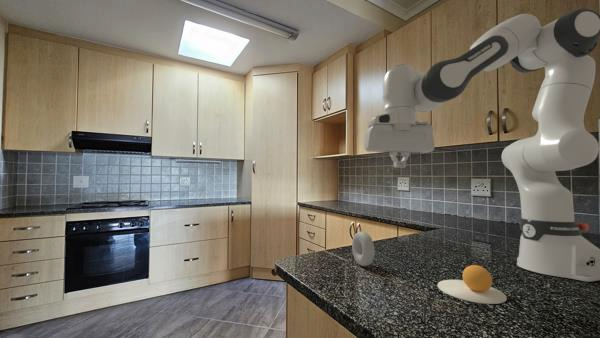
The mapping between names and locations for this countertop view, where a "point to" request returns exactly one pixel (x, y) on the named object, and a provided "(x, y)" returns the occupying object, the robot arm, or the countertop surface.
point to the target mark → (471, 292)
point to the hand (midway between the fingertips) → (399, 167)
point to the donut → (363, 248)
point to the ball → (477, 278)
